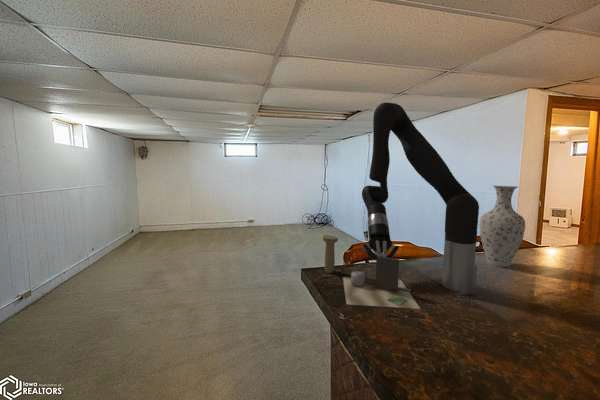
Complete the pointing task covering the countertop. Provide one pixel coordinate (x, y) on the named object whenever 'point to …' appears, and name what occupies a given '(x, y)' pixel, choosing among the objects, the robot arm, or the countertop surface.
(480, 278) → the countertop surface
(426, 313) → the countertop surface
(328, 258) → the beige pillar
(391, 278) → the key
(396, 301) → the board
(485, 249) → the vase
